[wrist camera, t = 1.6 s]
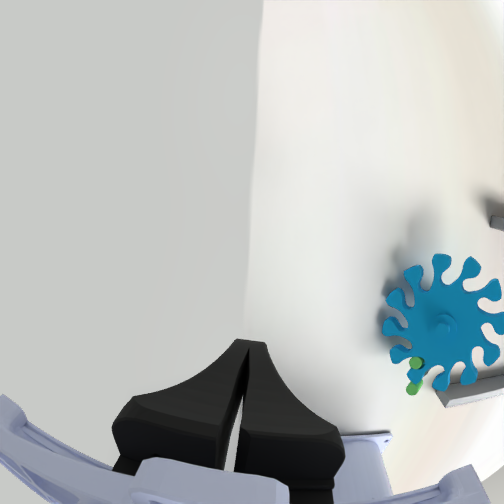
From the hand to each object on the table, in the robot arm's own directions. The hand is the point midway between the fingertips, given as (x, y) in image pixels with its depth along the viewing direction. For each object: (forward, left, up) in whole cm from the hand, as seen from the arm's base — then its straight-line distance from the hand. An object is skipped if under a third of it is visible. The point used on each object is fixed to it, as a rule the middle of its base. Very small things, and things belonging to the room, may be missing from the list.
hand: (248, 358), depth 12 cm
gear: (0, -13, -8) cm, 15 cm away
